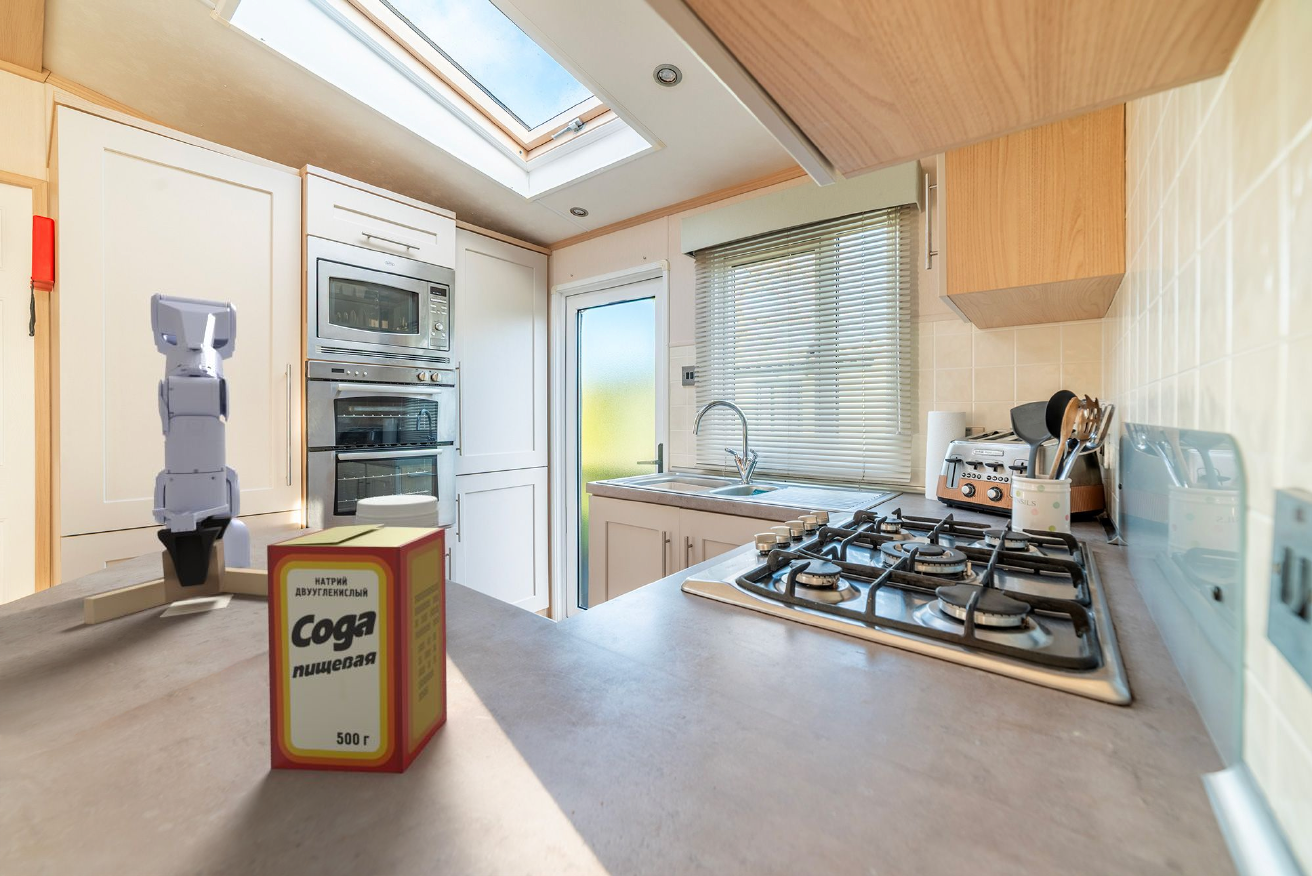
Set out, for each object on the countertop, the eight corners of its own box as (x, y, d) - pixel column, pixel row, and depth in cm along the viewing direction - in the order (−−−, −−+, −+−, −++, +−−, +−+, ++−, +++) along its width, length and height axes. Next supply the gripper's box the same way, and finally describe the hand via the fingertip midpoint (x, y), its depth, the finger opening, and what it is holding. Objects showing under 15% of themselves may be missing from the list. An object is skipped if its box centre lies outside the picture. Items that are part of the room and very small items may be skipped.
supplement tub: (337, 621, 63) (335, 502, 63) (399, 597, 72) (398, 492, 72) (397, 631, 60) (396, 506, 60) (455, 605, 69) (454, 495, 68)
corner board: (213, 595, 73) (213, 566, 73) (324, 605, 69) (324, 574, 68) (84, 634, 59) (83, 598, 59) (212, 650, 55) (212, 611, 55)
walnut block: (226, 583, 68) (223, 538, 68) (220, 592, 64) (216, 545, 64) (175, 591, 66) (172, 544, 65) (165, 602, 61) (161, 552, 61)
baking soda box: (446, 719, 42) (444, 523, 41) (403, 773, 35) (400, 541, 35) (334, 716, 42) (331, 522, 42) (270, 768, 36) (267, 540, 35)
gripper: (169, 469, 69) (171, 570, 69) (133, 478, 56) (135, 601, 57) (236, 467, 72) (238, 563, 73) (216, 475, 60) (218, 590, 60)
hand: (198, 579), depth 65 cm, fingers closed on walnut block, 5 cm apart
